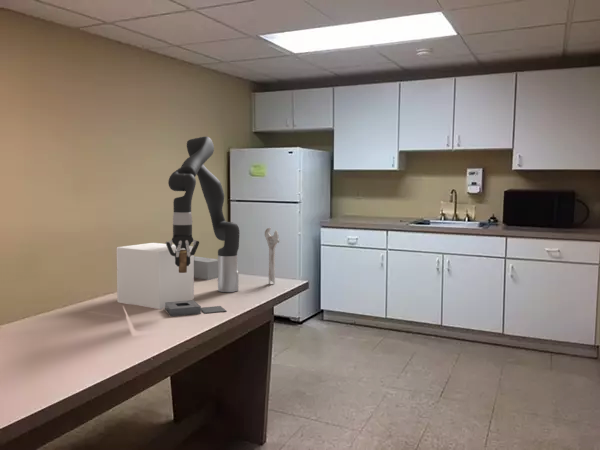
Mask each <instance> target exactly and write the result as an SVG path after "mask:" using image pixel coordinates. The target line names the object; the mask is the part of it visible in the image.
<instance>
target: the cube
mask: <svg viewBox="0 0 600 450" xmlns="http://www.w3.org/2000/svg"><path fill="white" fill-rule="evenodd" d="M193 246H194V245H193ZM193 246H192V245H190V246H189V249H190V252H191V250H192V248H193ZM171 248H172V250H173V252H174V253H175V249H176V246H175V245H174V243H172V246H171ZM180 250H185V248H182V249H180ZM194 256H195V254H194V255H192V256H190V264H189V266H187V272H186V273H179V266H177V265H176V264H175V256H172V255H170V252H169V250H168V248H167V246H166V243H159V242H148V243H140V244H132V245H123V246H117V247H116V288H117V289H116V290H117V291H116V292H117V293H116V294H117V298H116V299H117V303H120V304H126V305H133V306H140V307H146V308H151V309H156V310H161V309H165V302H177V301H190V300H195V278H194Z"/></svg>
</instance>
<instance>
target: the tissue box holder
mask: <svg viewBox="0 0 600 450" xmlns="http://www.w3.org/2000/svg"><path fill="white" fill-rule="evenodd" d="M194 279H198V280H199V279H200V280H206V281H209V280H215V279H218V258H212V257H211V258H210V257H203V256H195V255H194Z"/></svg>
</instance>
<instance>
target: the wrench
mask: <svg viewBox="0 0 600 450" xmlns="http://www.w3.org/2000/svg"><path fill="white" fill-rule="evenodd" d="M271 228H272V227H268V228H266V229H265V231H264V237H265V241H266V242H267V246H268V285H271V282H272V283H273V284H272V285H275V284H276V246H277V244H279V243H280V241H281V240H280V239H279V238H280V237H279V232H278V230H277V229H276V230H275V231H274V232H273V235H271V233H270V232H271Z"/></svg>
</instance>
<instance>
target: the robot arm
mask: <svg viewBox="0 0 600 450" xmlns="http://www.w3.org/2000/svg"><path fill="white" fill-rule="evenodd" d="M214 146H215V145H214V141H213V140H212V138H210V137H209V136H199V137H195V138H190V139H188V140H187V141H186V149H187V152H188V155H189V156H188V157H187V158H186V159H185V160H184V162H183V163H182V164H181V165H180V166H181V167H179V168H177V169H176V170H174V171H173V172H172V173H171V175H170V176H169V179H168V180H167V181H168V187H169V189H170V190H172V191H174V192H184V195H182V196H178V197H175V198H174V199H173V201H172V203H173V214H172V238H171V239H170V240H169V241H165V244H166V246H167V248H168V250H169V252H170V255H172V256H175V264H176V265H177V266H179V253H180V249H182V248H185V250H186V251H187V266H189V264H190V256H192V255H194V256H195V255H196V252H197V249H198V247H199V245H200V241H199V240H195V239H194V237H193V216H192V200H193V197H194V191H195V188H196V184H197V181H196V176H197V178H198V181H199V185H200V188H201V191H202V194H203V198H204V200H205V203H206V205H207V209H208V213H209V216H210V220H211V225H212V230H213V232H214V236H215V238H216V239H217V240H220V241H223V243H224V244H223V246H222V247H220V248H219V249H218V250H217V259H218V278H217V291H218V292H220V293H233V292H238V291H239V271H238V251H239V248H240V227H239V224H238V223H236V222H232V221H227V220H226V218H225V216H224V212H223V209H224V208H223V206H224V202H225V192H224V189H223V185H222V182H221V181H220V179H218V177H216V175H214V174H213V173H212V172H211V171H210V170H209V169H208V168H207V167H206V166H205V163H206V162H207V161H208V160H209V159H210V157H212V156H213V154H214V153H215V152H214V151H215V147H214ZM172 244H173V245H175V246H176V249H175V253H174V252H173V250H172V248H171V246H172ZM191 244H192V245H193V248H192V250H191V252H190V249H189V246H192V245H191Z"/></svg>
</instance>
